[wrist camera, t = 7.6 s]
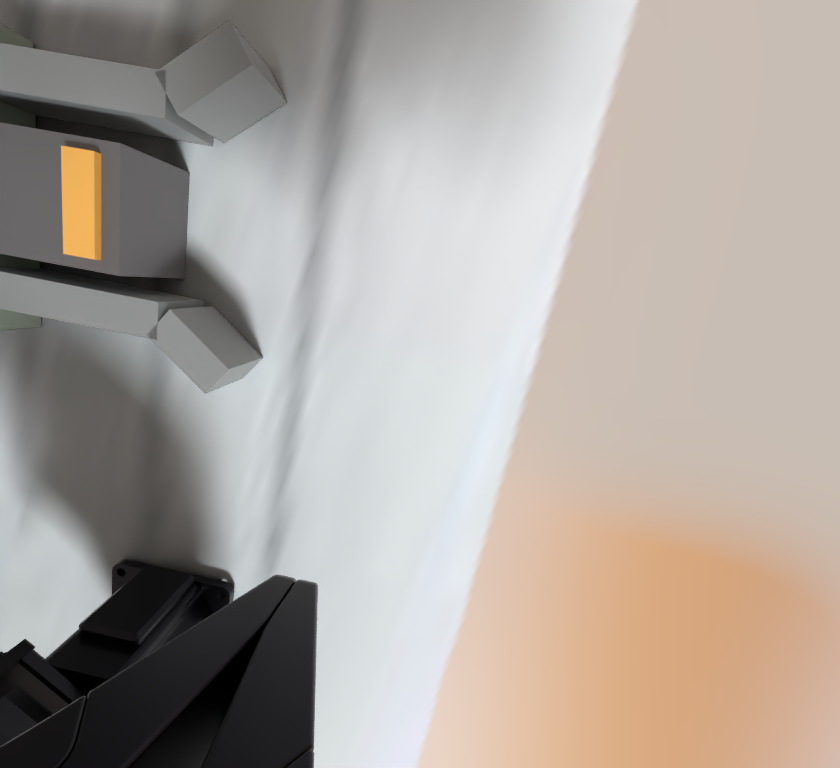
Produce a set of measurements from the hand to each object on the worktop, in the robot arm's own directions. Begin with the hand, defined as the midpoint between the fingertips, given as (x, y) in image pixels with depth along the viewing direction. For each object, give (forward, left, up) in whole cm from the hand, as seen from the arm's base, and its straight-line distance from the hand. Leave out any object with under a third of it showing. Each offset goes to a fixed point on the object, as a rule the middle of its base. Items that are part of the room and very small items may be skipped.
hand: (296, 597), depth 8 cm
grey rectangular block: (+7, +14, -12) cm, 20 cm away
